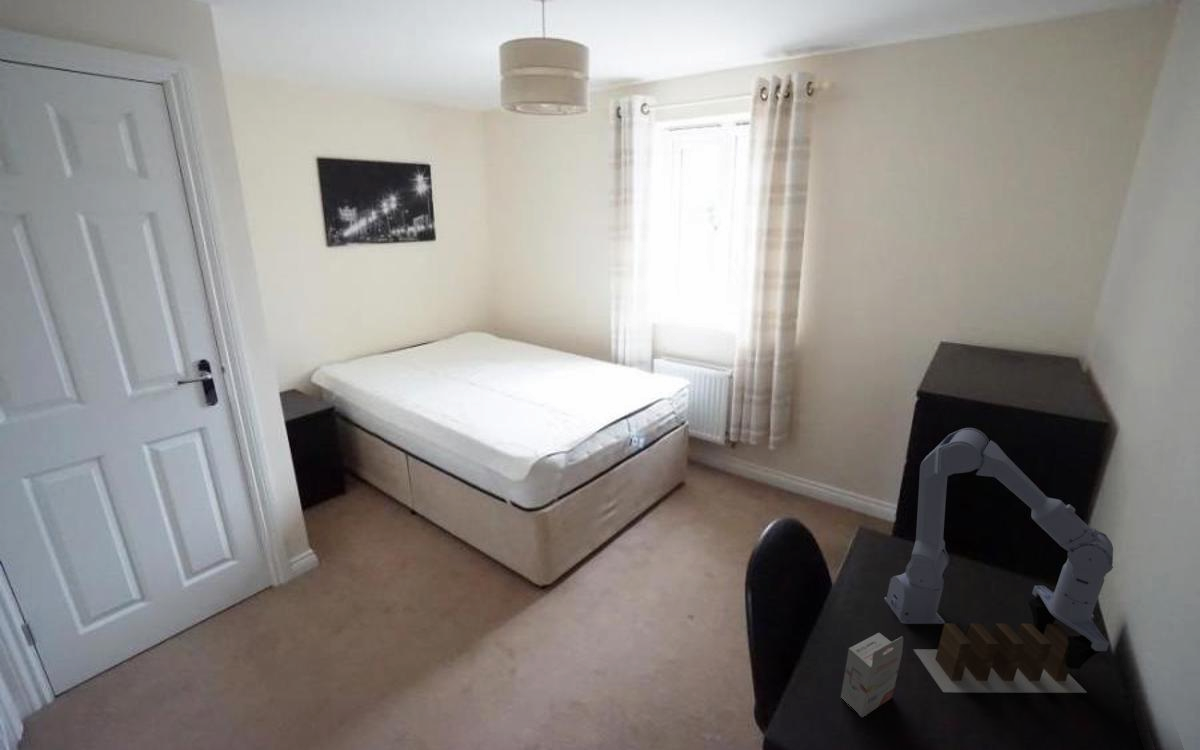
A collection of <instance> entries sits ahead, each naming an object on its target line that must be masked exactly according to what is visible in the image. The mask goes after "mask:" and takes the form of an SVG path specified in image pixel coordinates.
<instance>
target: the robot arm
mask: <svg viewBox="0 0 1200 750" xmlns="http://www.w3.org/2000/svg"><path fill="white" fill-rule="evenodd" d="M989 440H990V441H989ZM975 470H977V471H976V473H975V475H976V476H980V477H981V476H982V477H992V478H995V479H996V480H998V481H999V482H1000V483H1001V484H1002V485H1004V486H1005V488H1007V489H1008V490H1009V491H1010V492H1012V493H1013V494H1014V495H1015V496H1016V497H1018V499H1019V500H1021V501H1022V502H1023V503H1024V504H1025V505H1026V506H1027V507H1029V508H1030V509H1031V515H1030V516H1031V519H1032V520H1033V521H1034V522H1035V523H1036V524H1037V525H1038V526H1039V527H1040V528H1041V529H1042V530H1044V532H1046V533H1047V534H1048V536H1050V537H1051V538H1052V539H1053V540H1054V541H1055V542H1056V543H1057V544H1058V545H1059V546H1060V547H1061V548H1062V549H1064V550H1065V551H1067V560H1066V562H1065V563H1064V564H1063V566H1062V568H1061V571H1060V574H1059V577H1058V581H1057V583H1056V586H1055V589H1054V591H1051V590H1050V589H1049V588H1047V587H1046V586H1045V585H1034V587H1033V589H1032V592H1031V593H1032V595H1034V597H1035V598H1030V599H1028V602H1027V603H1028V605H1029V608H1030V610H1031V614H1032V619H1033V626H1034V627H1035V628H1036V629H1037V630H1038V631H1039V632H1040V633H1041V634H1042V635H1043V634H1044V631H1045V628H1046V625H1047V624H1055V623H1054V622H1055V621H1056V619H1057V620H1058V621H1059V622H1060V623H1063V624H1064V625H1066V627H1069V628H1071V629H1072V630H1074V631H1075V632H1076V633H1079V636H1077V635H1075V636H1074V635H1070V636H1068V642H1069V652H1068V656H1067V659H1066V666H1067V667H1068V668H1069V669H1070V670H1073V669H1074V670H1075V669H1077V670H1079V669H1080V668H1081V667H1082V666H1083V665H1084V664H1085V663H1087V661H1088V660H1089V659H1091V658H1092V657H1094V656H1096V655H1097V654H1100V653H1102V652H1107V651H1108V647H1109V645H1110V642H1109V640H1107V639H1106V638H1105V637H1104V636H1103V634H1102V633H1101V631H1100V630H1099V628H1098V627H1097V625H1096V624H1095V623H1094V621H1093V619H1094V617H1095V615H1094V609H1095V607H1096V604H1097V602H1098V599H1099V597H1100V596H1099V595H1100V594H1101V591H1102V588H1103V585H1104V583H1105V577H1106V576H1107V574H1109V572H1111V571H1112V570H1113V568H1114V566H1113V565H1114V564H1113V561H1114V560H1113V559H1114V546H1113V544H1112V543H1113V542H1112V541H1111V539H1109V538H1108V536H1107V534H1106V533H1104V532H1102V531H1099V530H1097V529H1096V528H1094V527H1092V528H1091V526H1089V525H1088V524H1087V523H1086V522H1085V521H1083V520H1082V519H1081V517H1079V516H1078V515H1077V514H1076V508H1075V507H1074V506H1072V505H1071V504H1065V503H1064V502H1063V501H1062V500H1061V499H1058V498H1053V497H1048V496H1046V494H1045V493H1044V492H1043V491H1042V490H1041V489H1040V488H1039V487H1038V486H1037V485H1036V484H1035V483H1034V482H1033V481H1032V480H1031V479H1030V478H1029V477H1028V476H1027V475H1026V474H1025V473H1024V472H1023V471H1022V469H1020V468H1019V467H1018V466H1017V465H1016V464H1015V462H1013V461H1012V460H1011V459H1010V457H1009V456H1007V454H1006V453H1005V452H1004V451H1003V450H1002V449H1001V447H1000V446H999V445H998V444H997V443H996V442H995V441H993V440H992V439H989V438H988V437H987V435H986V434H985V433H984V432H983V431H981V430H979V429H977V428H973V427H965V428H961V429H959V430H956V431H954V432H952V433H949V434H947V436H946V437H945V438H944V439H943V440H942V441H941V442H940V443H939V444H938V445H937V446H936V447H934V449H933V450H932V451H930V452H929V454H927V455H926V456H925V457H924V459H923V460H922V461H921V463H920V466H919V479H918V480H919V481H918V482H919V483H918V496H917V499H918V500H917V512H916V513H917V515H916V517H917V519H916V533H915V534H916V535H915V542H914V546H913V549H912V553H911V559H910V561H909V562H908V564H907V565H906V567H905V572H903V573H901V574H898V575H894V576H892V577H891V578H890V580H889V585H888V589H887V595H886V596H885V597H884V601H885V602H886V603H887V605H888V606H889V607H890V609H891V611H892V612H893V613H894V614H895V616H896V617H897V618H898V620H899V621H900V623H901V624H903V625H904V624H905V625H911V624H912V625H913V624H914V625H919V624H920V625H944V623H946V621H945V620H944V619H943V617H942V616H941V615H940V614H939V613H938V608H939V605H940V601H941V597H942V593H943V589H944V585H945V580H944V578H943V573H944V571H945V569H946V568H947V567H948V566H949V563H950V558H949V555H948V553H947V550H946V541H945V540H944V528H945V517H946V516H945V515H946V504H947V503H946V502H947V487H948V477H950V476H952V475H953V474H954V475H955V474H963V473H970V472H973V471H975Z"/></svg>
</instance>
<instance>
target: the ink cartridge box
mask: <svg viewBox="0 0 1200 750" xmlns="http://www.w3.org/2000/svg"><path fill="white" fill-rule="evenodd" d="M903 647H904V636H900V637H898V638H897V639H894V640H893V641H891V640H889V638H887V637H886V636H884V635H882V633H880V632H877V633H875V634H874V635H872V636H869V637H868V638H866V639H864V640H863V641H860V642H857V644H855V645H852V646H850V647H849V648H848V652H847V657H846V658H847V659H846V663H845V664H846V665H845V669H844V676H843V682H842V688H841V694H840V699H841V698H842V699H843V700H844V701H845V702H846V703H847V704H846V703H845V702H844V701H843V700H842V699H841V700H842V701H843V702H844V703H845V704H846V705H848V704H849V705H848V707H850V706H851V707H852V708H853V709H854V710H855V711H856V712H857V713H858V716H859V717H861V718H862V717H863V718H864V716H865V717H866V716H868V715H869V714H870V713H871V712H872V711H875V710H876V709H877V708H879V707H880V706H882V705H883V704H885V703H887V702H889V700H891V699H893V695H894V691H895V687H896V682H897V677H898V673H899V668H900V664H901V660H902V655H903V649H904V648H903ZM851 707H850V708H851ZM852 708H851V709H852ZM853 709H852V710H853ZM854 710H853V711H854ZM855 711H854V712H855ZM856 712H855V713H856ZM857 713H856V714H857ZM867 714H868V715H867Z"/></svg>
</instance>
